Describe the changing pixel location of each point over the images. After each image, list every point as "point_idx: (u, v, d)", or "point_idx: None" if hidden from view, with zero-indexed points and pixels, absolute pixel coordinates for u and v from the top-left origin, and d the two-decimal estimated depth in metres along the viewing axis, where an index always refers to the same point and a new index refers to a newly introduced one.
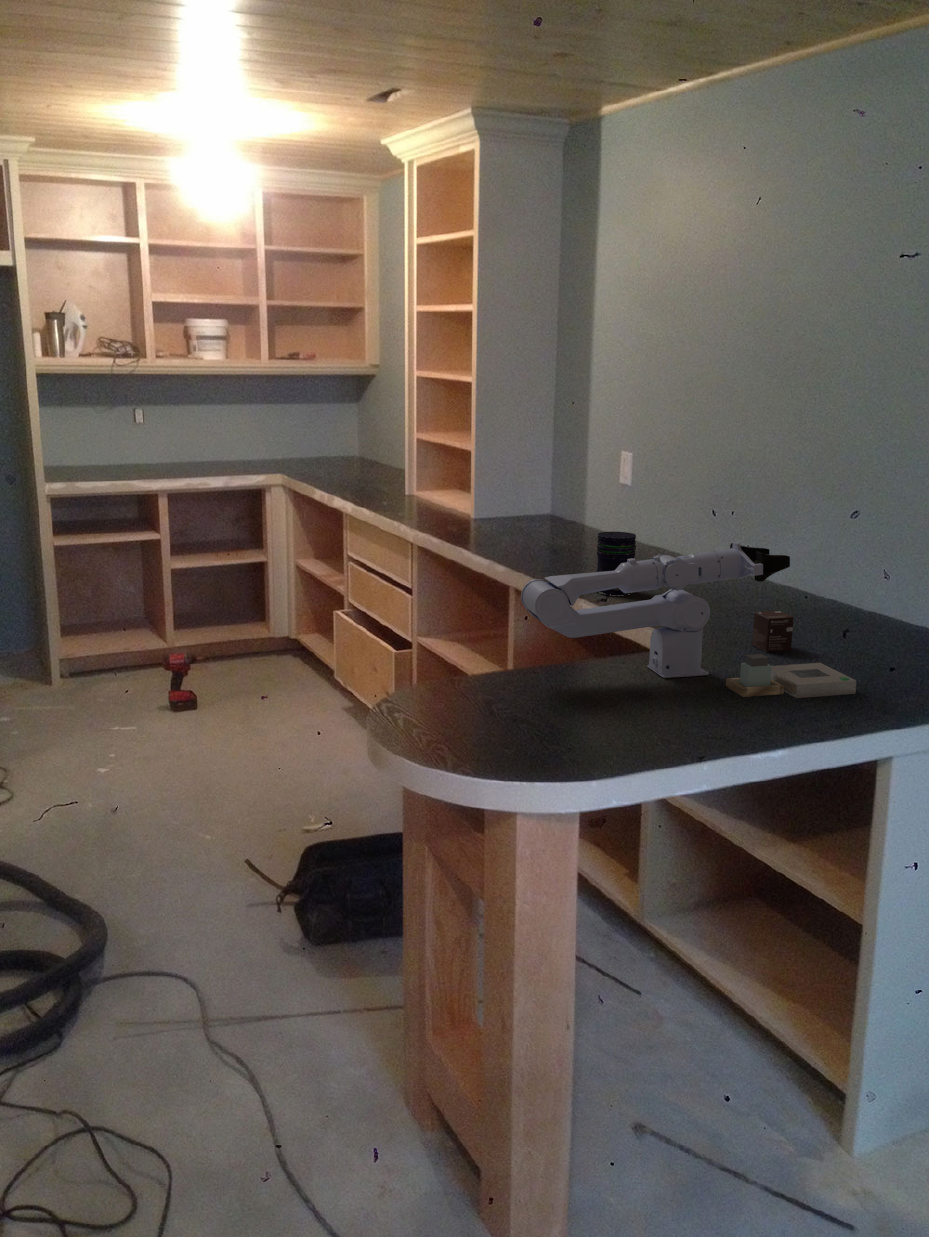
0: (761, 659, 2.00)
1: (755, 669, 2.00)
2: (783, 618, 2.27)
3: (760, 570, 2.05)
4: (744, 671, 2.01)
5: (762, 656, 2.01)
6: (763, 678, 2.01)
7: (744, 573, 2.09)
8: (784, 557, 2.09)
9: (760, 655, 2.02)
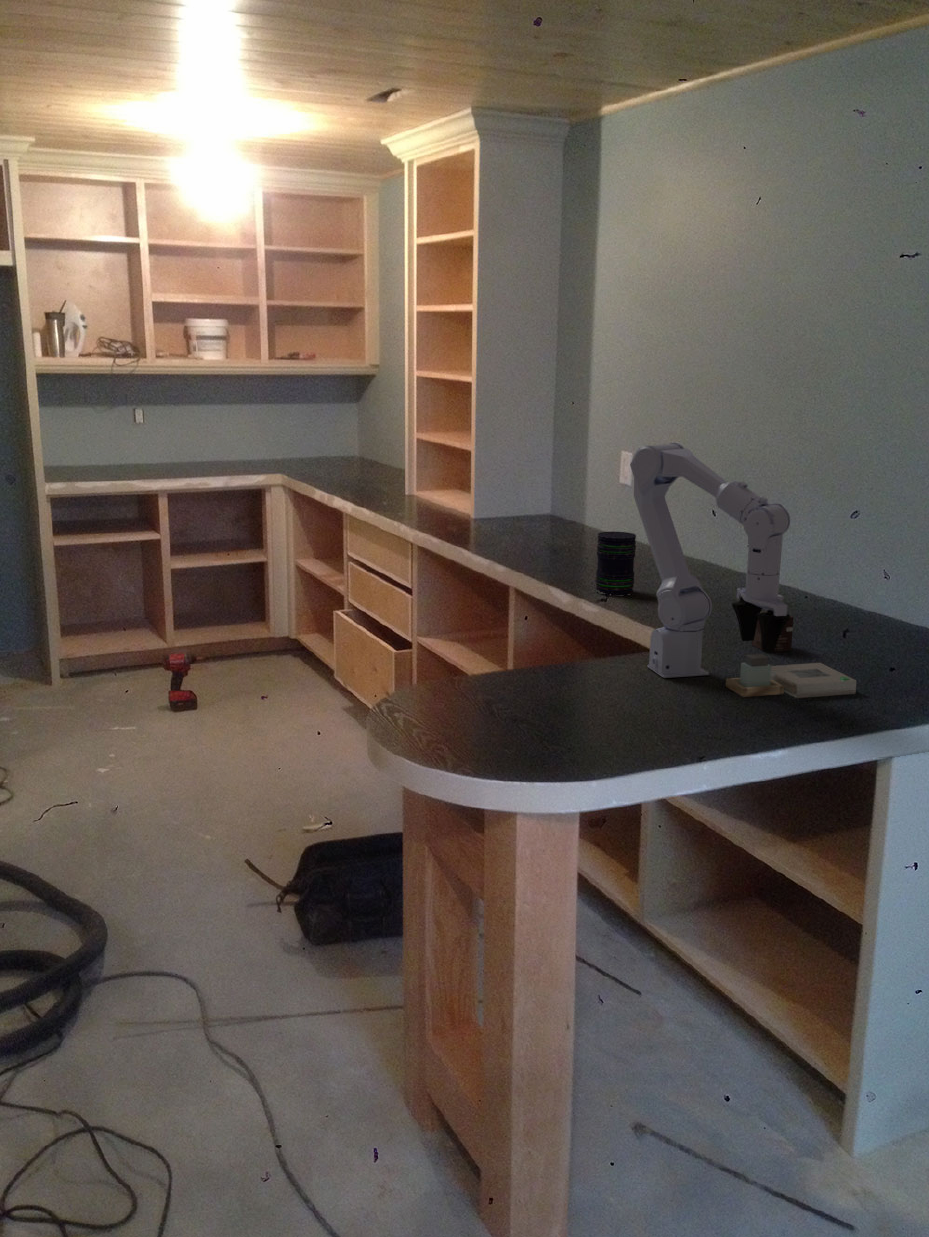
0: (761, 659, 2.00)
1: (755, 669, 2.00)
2: None
3: (781, 613, 1.92)
4: (744, 671, 2.01)
5: (762, 656, 2.01)
6: (763, 678, 2.01)
7: None
8: (775, 645, 1.96)
9: (760, 655, 2.02)
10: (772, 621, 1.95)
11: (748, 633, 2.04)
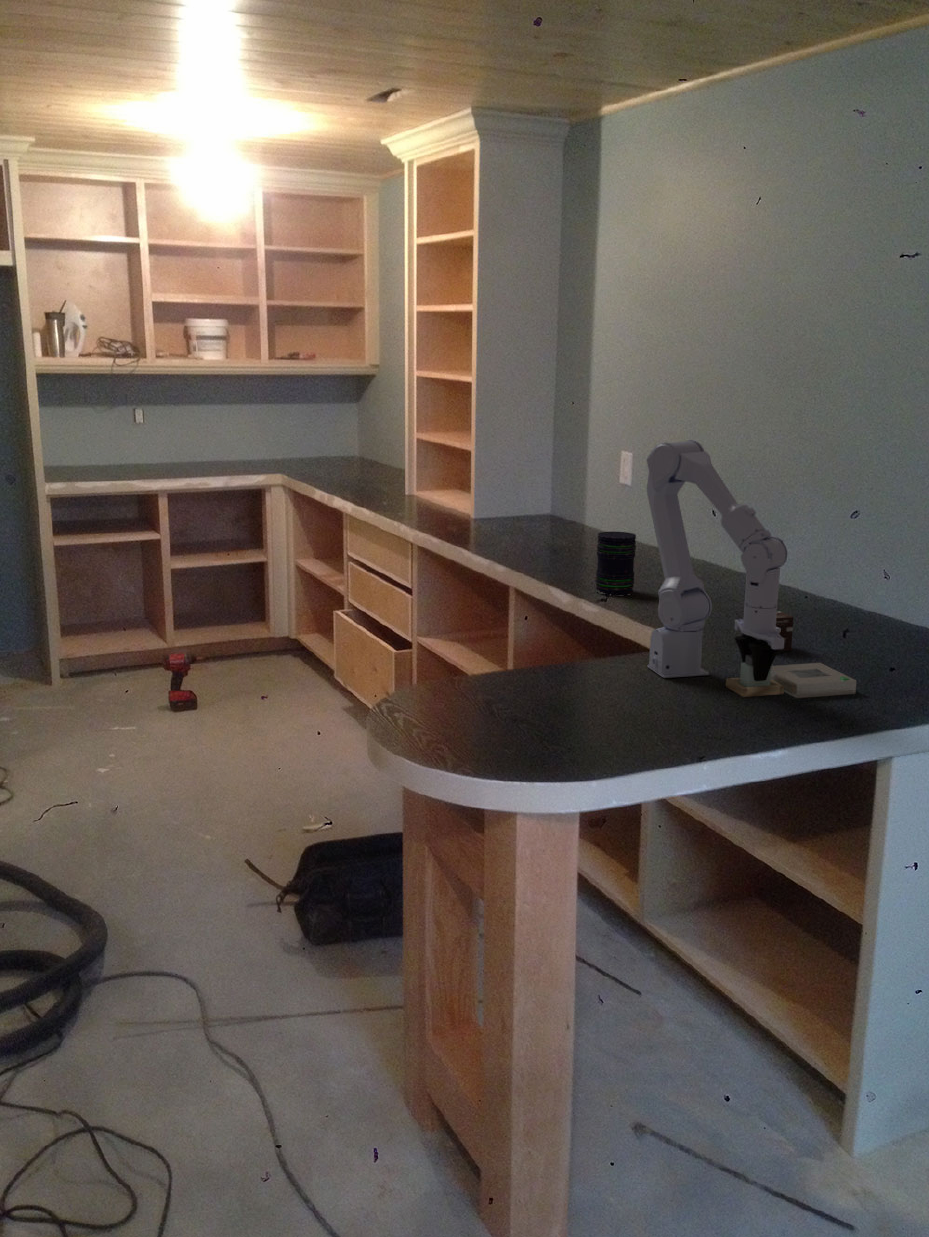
0: None
1: None
2: (783, 618, 2.27)
3: (778, 646, 1.93)
4: (744, 671, 2.01)
5: None
6: None
7: None
8: (766, 674, 2.00)
9: None
10: (764, 651, 1.99)
11: None
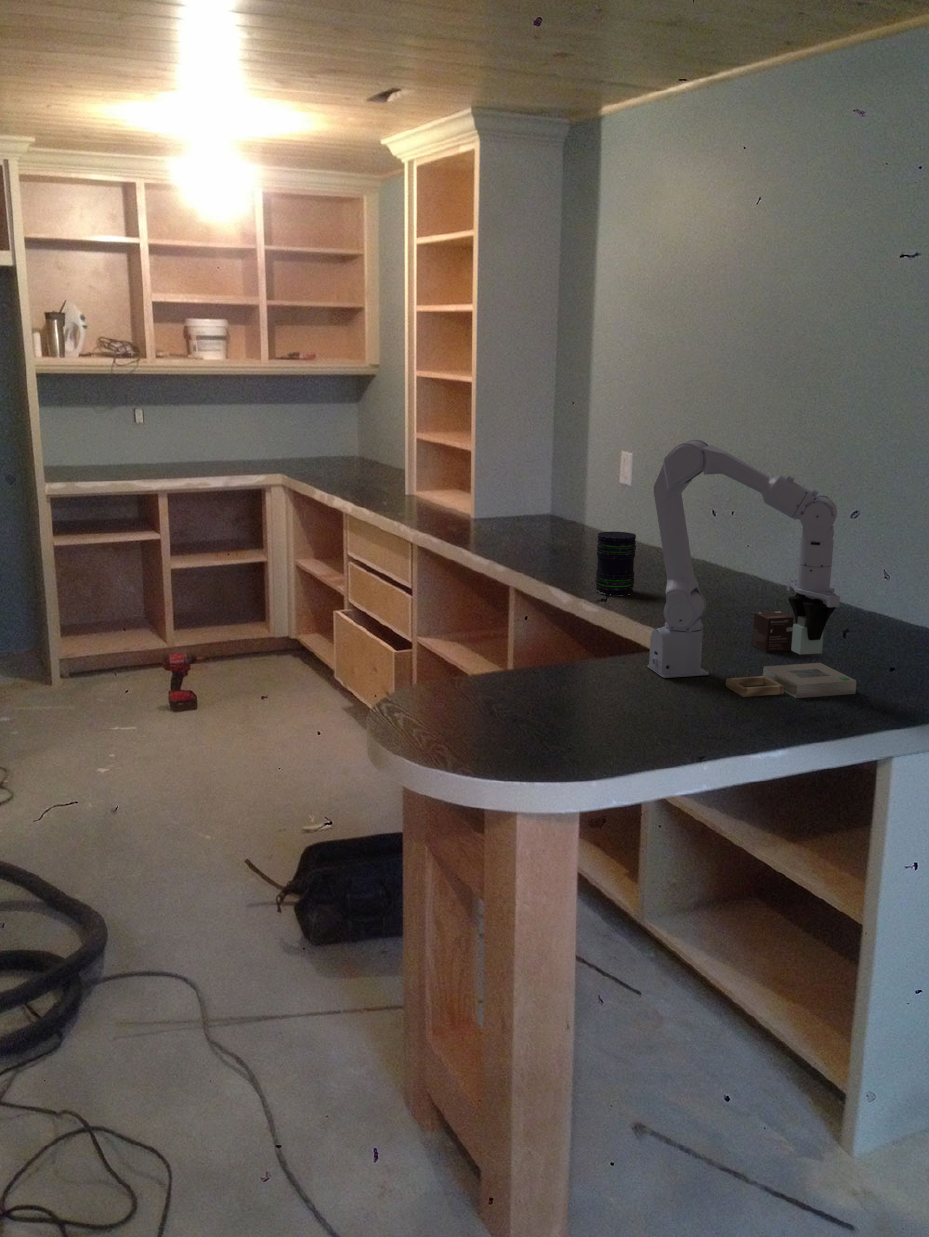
0: None
1: None
2: (783, 618, 2.27)
3: (834, 604, 1.94)
4: (797, 632, 2.02)
5: None
6: None
7: None
8: (821, 633, 2.01)
9: None
10: (818, 610, 1.99)
11: None
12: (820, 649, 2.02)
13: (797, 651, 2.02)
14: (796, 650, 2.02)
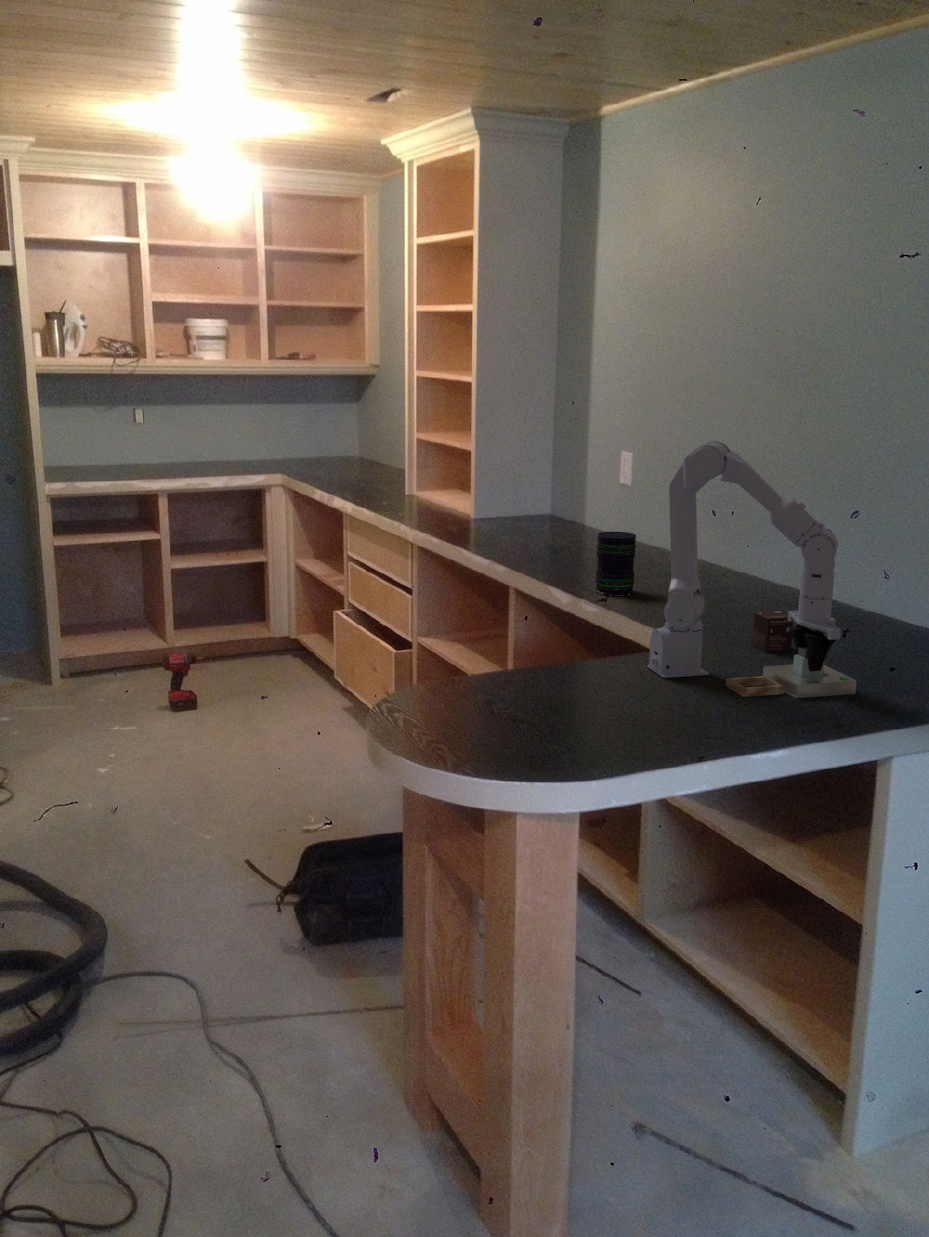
0: None
1: None
2: (783, 618, 2.27)
3: (834, 636, 1.96)
4: (798, 663, 2.03)
5: None
6: None
7: None
8: (821, 664, 2.02)
9: None
10: (819, 641, 2.01)
11: None
12: None
13: None
14: None
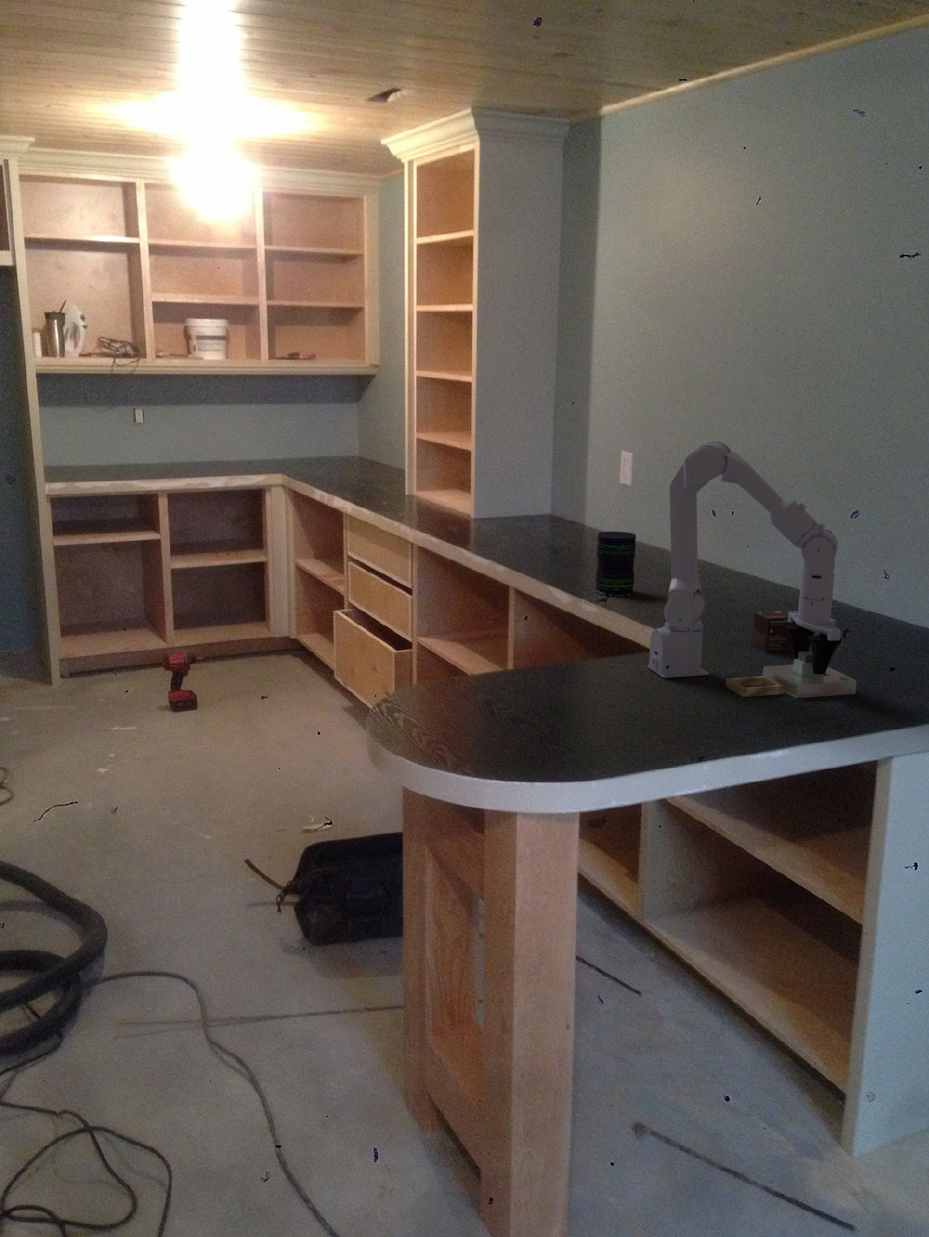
0: None
1: (808, 665, 2.02)
2: (783, 618, 2.27)
3: (834, 637, 1.96)
4: (797, 668, 2.04)
5: None
6: (816, 674, 2.03)
7: None
8: (826, 667, 2.01)
9: None
10: (823, 644, 2.00)
11: None
12: None
13: None
14: None
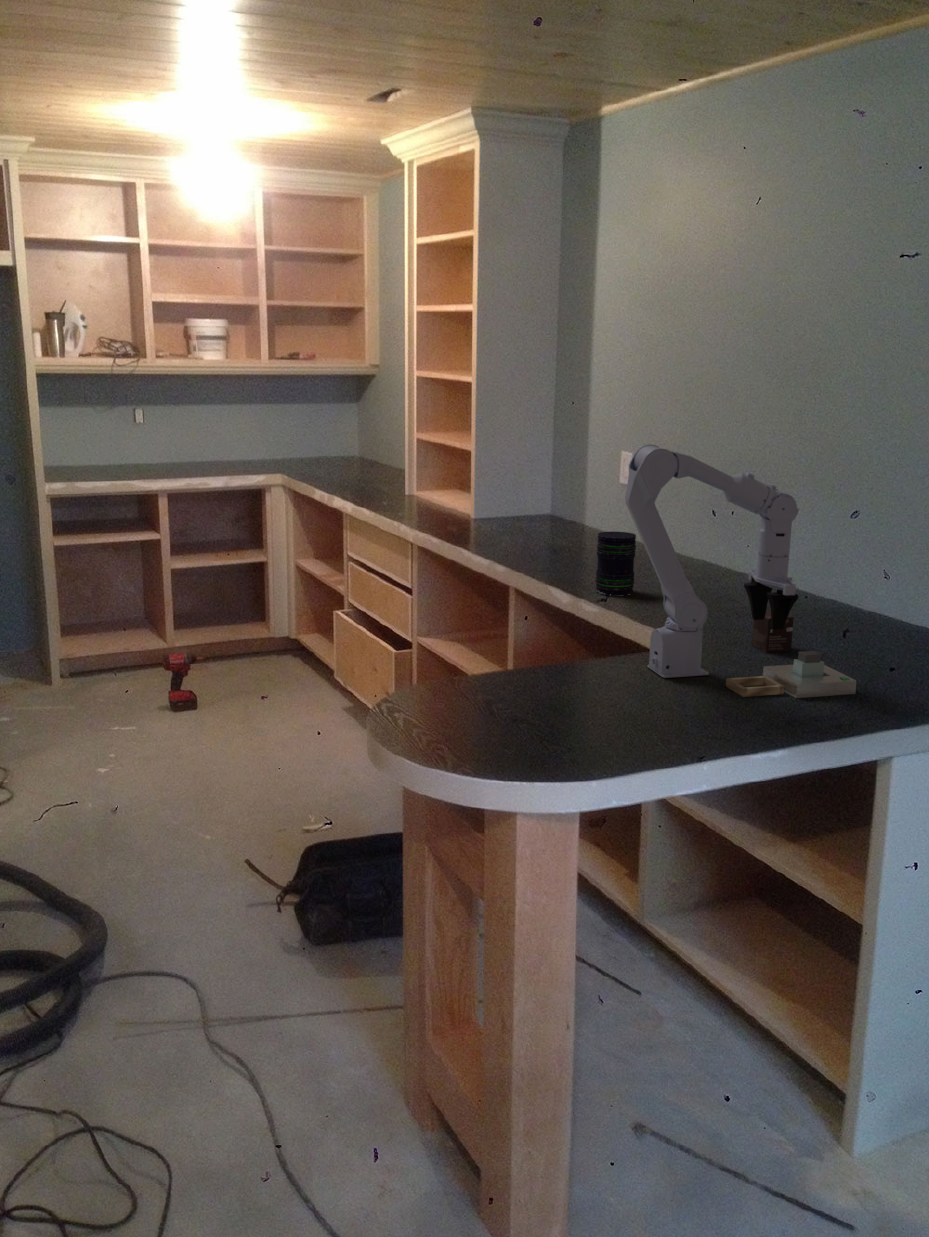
0: (814, 656, 2.03)
1: (808, 665, 2.02)
2: None
3: (789, 592, 2.04)
4: (797, 668, 2.04)
5: (815, 653, 2.04)
6: (816, 674, 2.03)
7: None
8: (784, 623, 2.09)
9: (813, 652, 2.04)
10: (781, 600, 2.07)
11: (759, 612, 2.16)
12: None
13: None
14: None
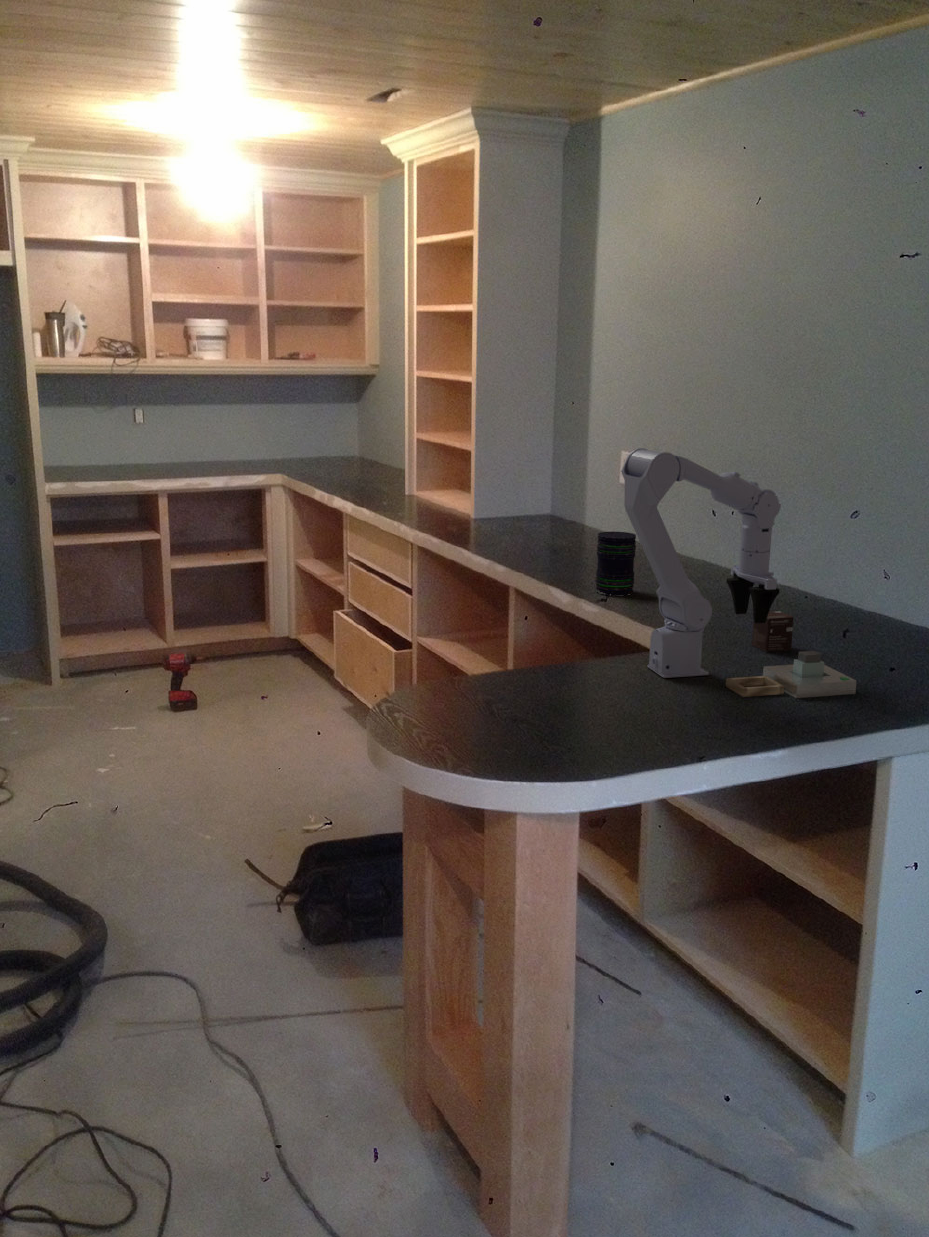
0: (814, 656, 2.03)
1: (808, 665, 2.02)
2: (783, 618, 2.27)
3: (771, 586, 2.08)
4: (797, 668, 2.04)
5: (815, 653, 2.04)
6: (816, 674, 2.03)
7: None
8: (766, 616, 2.13)
9: (813, 652, 2.04)
10: (763, 595, 2.12)
11: (741, 607, 2.20)
12: None
13: None
14: None
